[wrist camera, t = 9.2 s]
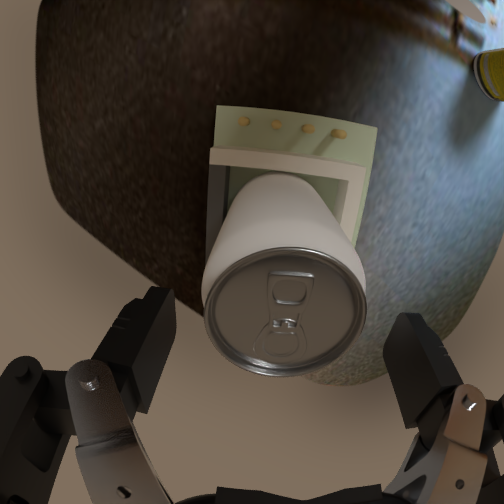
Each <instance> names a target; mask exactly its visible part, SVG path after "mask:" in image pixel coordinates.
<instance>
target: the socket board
mask: <svg viewBox="0 0 504 504" xmlns="http://www.w3.org/2000/svg"><path fill="white" fill-rule="evenodd" d="M377 129H378V128H376V127H371V126H367V125H363V124H358V123H354V122H349V121H344V120H339V119H333V118H328V117H322V116H316V115H310V114H303V113H296V112H289V111H280V110H272V109H262V108H250V107H237V106H218V105H217V109H216V121H215V134H214V147H212V148H210V162H209V180H208V200H207V224H206V259H205V267H206V264H207V261H208V259H209V256H210V253H211V251H212V248H213V246H214V244H215V241H216V239H217V237H218V234H219V232H220V230H221V227H222V225H223V223H224V220H225V218H226V216H227V214H228V211H229V209H230V207H231V205H232V203H233V200H234V198H235V197H236V195H237V193H238V192H239V190H240V189H241V188H242V187H243V186H244V185H245V184H246V183H247V182H248V181H249V180H251V179H252V178H254V177H256V176H258V175H260V174H263V173H267V172H273V171H282V172H288V173H292V174H295V175H297V176H299V177H301V178H303V179H304V180H305V181H307V182H308V183H309V184H310V185H311V186H312V187H313V188H314V189H315V190H316V192H317V193H318V194H319V196H320V197H321V198H322V200H323V201H324V203H325V204H326V206H327V207H328V208H329V210H330V211H331V213H332V214H333V216H334V217H335V219H336V220H337V222H338V223H339V225H340V226H341V228H342V230H343V231H344V233H345V234H346V236H347V237H348V239H349V241H350V242H351V244H352V246H353V247H354V249H355V244H356V240H357V236H358V232H359V228H360V223H361V219H362V214H363V209H364V205H365V200H366V195H367V190H368V184H369V179H370V174H371V168H372V162H373V156H374V150H375V143H376V136H377Z"/></svg>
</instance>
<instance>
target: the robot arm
mask: <svg viewBox="0 0 504 504" xmlns="http://www.w3.org/2000/svg"><path fill="white" fill-rule="evenodd" d="M175 334H176V312H175V297H174V291H173V289H168V288H161V287H155V286H151V287H150V288H149V290H148V291H147V293H146V295H145V296H144V298H143V299H138V298H135V299H134V300H132V301H131V302H129V303H128V304H126V305H125V306H124V307H123V309H122V310H121V312H120V313H119V315H118V318H116V320H115V321H114V323H113V324H112V327H110V329H109V331H108V332H107V334H106V336H105V337H104V339H103V340H102V342H101V343H100V345H99V346H98V348H97V350H96V352H95V353H94V355H93V356H92V358H91V359H87V360H82V361H80V362H77V363H76V364H74V365H73V366H72V367H71V368H70V369H69V371H54V370H43V368H42V366H41V364H40V363H39V361H38V360H37V359H35V358H34V357H30V356H21V357H18V358H16V359H14V360H13V361H11V363H9V364H8V366H7V367H6V369H5V370H4V372H3V373H2V375H1V376H0V504H48V501H49V498H50V495H51V491H52V488H53V485H54V482H55V479H56V475H57V473H58V469H59V466H60V464H61V461H62V458H63V455H64V453H65V450H66V447H67V444H68V442H69V439H70V437H71V435H76V436H77V438H78V442H79V445H78V446H76V448H75V451H76V457H77V461H78V464H79V467H80V470H81V473H82V476H83V479H84V482H85V485H86V487H87V490H88V493H89V495H90V498H91V500H92V503H93V504H174V502H173V500H172V499H171V497H170V495H169V494H168V492H167V490H166V488H165V487H164V485H163V483H162V481H161V480H160V478H159V476H158V474H157V472H156V471H155V469H154V467H153V465H152V463H151V461H150V459H149V457H148V455H147V453H146V451H145V449H144V447H143V444H142V442H141V440H140V438H139V436H138V433H137V431H136V429H135V426H134V424H133V419H134V416H135V413H136V411H137V412H141V413H145V414H147V413H148V410H149V407H150V404H151V401H152V398H153V396H154V393H155V390H156V387H157V384H158V382H159V379H160V376H161V374H162V371H163V368H164V365H165V363H166V360H167V358H168V355H169V352H170V350H171V347H172V344H173V342H174V339H175ZM383 358H384V361H385V364H386V367H387V370H388V373H389V376H390V379H391V382H392V385H393V388H394V391H395V394H396V397H397V401H398V404H399V407H400V410H401V414H402V417H403V421H404V424H405V428H406V429H409V428H415V427H418V429H419V432H418V433H417V434H416V435H415V437H414V439H413V442H412V444H411V446H410V449H409V451H408V453H407V455H406V457H405V459H404V461H403V463H402V465H401V467H400V469H399V471H398V473H397V475H396V476H395V478H394V479H393V480H392V482H391V483H390V484H389V485H388V486H387V487H386V488H385V490H384V491H383V492H382V490H381V484H377V485H371V486H363V487H356V488H347V489H343V490H340V491H337V492H334V493H330V494H327V495H324V496H321V497H317V498H313V499H310V500H297V499H292V498H288V497H283V496H279V495H275V494H271V493H267V492H263V491H257V490H244V489H234V488H224V487H217V491H216V494H205V495H199V496H195V497H191V498H187V499H185V500H182V501H179V502H177V503H175V504H504V474H503V475H502V476H500V472H499V469H498V465H497V461H496V458H495V454H494V451H493V447H494V446H495V445H496V444H497V443H498V442H500V441H501V440H502V439H503V442H504V394H503V396H502V397H501V398H500V399H499V400H498V401H493V400H487V399H485V397H484V395H483V393H482V392H481V391H480V390H479V389H478V388H477V387H475V386H473V385H470V384H464V383H463V381H462V379H461V377H460V375H459V373H458V371H457V369H456V367H455V366H454V363H453V362H452V360H451V358H450V356H448V352H447V350H446V349H445V348H444V345H443V343H442V341H441V340H440V338H439V336H438V335H437V334H436V333H435V332H434V331H433V330H432V329H431V328H430V327H428V326H427V324H426V322H425V321H424V319H423V317H422V316H421V314H419V313H403V312H402V313H400V314H399V315H398V316H397V318H396V321H395V323H394V325H393V327H392V329H391V331H390V333H389V336H388V338H387V340H386V342H385V344H384V348H383Z"/></svg>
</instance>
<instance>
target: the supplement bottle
mask: <svg viewBox="0 0 504 504" xmlns="http://www.w3.org/2000/svg"><path fill="white" fill-rule="evenodd" d="M474 73H475V77H476V80H477V82H478V84H479V86H480V88H481V89H482V91H483V92H484V93H485V95H486V96H488V97H489V98H490V99H492V100H495V101H504V48H501V49H494V50H488V51H483V52H480V53H478V55H477V56H476V57H475V60H474Z"/></svg>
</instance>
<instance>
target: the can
mask: <svg viewBox="0 0 504 504" xmlns="http://www.w3.org/2000/svg"><path fill="white" fill-rule="evenodd" d="M201 290H202V301H203V306H204V323H205V328H206V331H207V334H208V336H209V338H210V340H211V342H212V343H213V345H214V347H215V348H216V349H217V350H218V351H219V352H220V353H221V355H223V356H224V357H225V358H226V359H227V360H228V361H230V362H231V363H233V364H234V365H236V366H238V367H240V368H242V369H244V370H246V371H249V372H252V373H255V374H259V375H264V376H270V377H294V376H301V375H305V374H309V373H313V372H316V371H318V370H321V369H323V368H325V367H327V366H329V365H331V364H332V363H334V362H336V361H337V360H338V359H340V358H341V357H342V356H343V355H345V354H346V353H347V352H348V351H349V350H350V349H351V347H352V346H353V345H354V344H355V342H356V341H357V339H358V338H359V336H360V334H361V332H362V330H363V327H364V324H365V320H366V314H367V303H366V297H365V275H364V270H363V267H362V264H361V261H360V259H359V257H358V255H357V253H356V251H355V249H354V247H353V246H352V244H351V242H350V241H349V239H348V237H347V236H346V234H345V233H344V231H343V230H342V228H341V226H340V225H339V223H338V222H337V220H336V219H335V217H334V216H333V214H332V213H331V211H330V210H329V208H328V207H327V206H326V204H325V203H324V201H323V200H322V198H321V197H320V196H319V194H318V193H317V192H316V190H315V189H314V188H313V187H312V186H311V185H310V184H309V183H308V182H307V181H305V180H304V179H303V178H301V177H299V176H297V175H295V174H292V173H288V172H282V171H273V172H267V173H263V174H260V175H258V176H256V177H254V178H252V179H251V180H249V181H248V182H247V183H246V184H245V185H244V186H243V187H242V188H241V189H240V190H239V192H238V193H237V195H236V197H235V198H234V200H233V203H232V205H231V207H230V209H229V211H228V214H227V216H226V218H225V220H224V223H223V225H222V227H221V230H220V232H219V234H218V237H217V239H216V241H215V244H214V246H213V248H212V251H211V253H210V256H209V259H208V261H207V264H206V267H205V270H204V274H203V280H202V289H201Z"/></svg>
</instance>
